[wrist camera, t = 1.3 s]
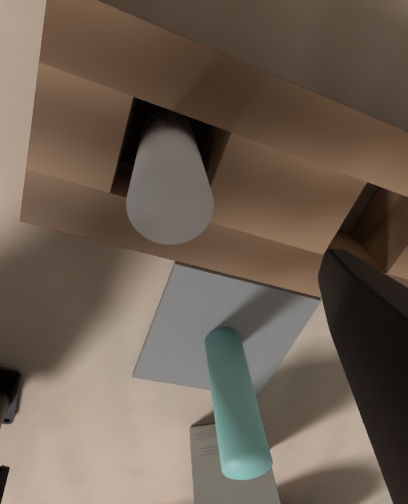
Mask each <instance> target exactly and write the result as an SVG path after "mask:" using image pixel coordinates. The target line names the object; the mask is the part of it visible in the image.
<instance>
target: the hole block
mask: <svg viewBox="0 0 408 504" xmlns="http://www.w3.org/2000/svg"><path fill="white" fill-rule="evenodd" d="M137 98H139V99H141V100H144V101H147V102H150V103H152V104H155V105H158V106H161V107H163V108H166V109H169V110H172V111H174V112H177V113H180V114H182V115H185V116H188V117H191V118H193V119H196V120H199V121H202V122H204V123H207V124H210V125H213V126H212V129H211V132H210V135H209V138H208V140H207V143H206V146H205V149H204V151H203V154H202V157H201V159H202V162H203V166H204V169H205V172H206V175H207V178H208V182H209V185H210V188H211V191H212V195H213V200H214V210H213V215H212V218H211V220H210V222H209V224H208V225H207V227H206V228H205V229H204V231H203V232H202V233H201V234H199V235H198V236H197V237H195V238H194V239H192V240H190V241H187V242H185V243H181V244H175V245H166V244H159V243H156V242H153V241H151V240H149V239H147V238H145V237H144V236H142V235H141V234H140V233H139V232H138V231H137V230H136V229H135V228H134V226H133V225H132V223H131V222H130V220H129V217H128V214H127V209H126V199H127V194H128V190H129V186H130V181H131V177H132V173H133V169H134V166H132V165H128V164H125V163H122V162H121V159H122V155H123V151H124V147H125V143H126V139H127V135H128V131H129V127H130V123H131V119H132V115H133V111H134V107H135V103H136V99H137ZM367 182H368V183H371V184H374V185H377V186H379V188H378V190H377V191H376V193H375V194H374V196H373V198H372V199H371V201H370V202H369V204H368V206H367V207H366V209H365V210H364V212H363V214H362V215H361V217H360V218H359V220H358V221H357V223H356V225H355V226H354V228H353V229H352V231H351V233H350V234H347V233H344V232H341V231H338V229H339V228H340V226H341V224H342V223H343V221H344V220H345V218H346V216H347V215H348V213H349V211H350V210H351V208H352V206H353V205H354V203H355V201H356V200H357V198H358V196H359V195H360V193H361V191H362V190H363V188H364V187H365V185H366V183H367ZM20 222H24V223H28V224H32V225H36V226H40V227H44V228H48V229H52V230H56V231H60V232H64V233H68V234H72V235H76V236H80V237H83V238H87V239H91V240H95V241H99V242H103V243H107V244H111V245H115V246H119V247H123V248H127V249H131V250H135V251H139V252H143V253H147V254H151V255H155V256H158V257H162V258H166V259H170V260H174V261H178V262H182V263H186V264H190V265H194V266H198V267H202V268H206V269H210V270H214V271H218V272H222V273H226V274H229V275H233V276H237V277H241V278H245V279H249V280H253V281H257V282H261V283H265V284H269V285H273V286H277V287H281V288H285V289H289V290H293V291H297V292H300V293H304V294H308V295H312V296H316V297H320V298H322V297H321V292H320V288H319V284H318V273H319V269H320V266H321V263H322V259H323V256H324V253H325V251H326V250H327V249H330V248H332V249H344V250H346V251H348V252H349V253H351V254H353V255H354V256H356V257H358V258H359V259H361V260H363V261H364V262H366V263H368V264H369V265H371V266H373V267H374V268H376V269H378V270H379V271H381V272H383V273H384V274H386V275H388V276H389V277H391V278H393V279H394V280H396V281H398V282H399V283H401V284H403V285H404V286H406V287H408V132H406V131H404V130H401V129H399V128H397V127H394V126H392V125H389V124H387V123H385V122H382V121H380V120H378V119H375V118H373V117H371V116H368V115H366V114H364V113H361V112H359V111H357V110H354V109H352V108H350V107H347V106H345V105H342V104H340V103H338V102H335V101H333V100H331V99H328V98H326V97H324V96H321V95H319V94H317V93H314V92H312V91H310V90H307V89H305V88H302V87H300V86H298V85H295V84H293V83H291V82H288V81H286V80H284V79H281V78H279V77H277V76H274V75H272V74H270V73H267V72H265V71H262V70H260V69H258V68H255V67H253V66H251V65H248V64H246V63H244V62H241V61H239V60H237V59H234V58H232V57H230V56H227V55H225V54H222V53H220V52H218V51H215V50H213V49H211V48H208V47H206V46H204V45H201V44H199V43H197V42H194V41H192V40H190V39H187V38H185V37H182V36H180V35H178V34H175V33H173V32H171V31H168V30H166V29H164V28H161V27H159V26H157V25H154V24H152V23H150V22H147V21H145V20H142V19H140V18H138V17H135V16H133V15H131V14H128V13H126V12H124V11H121V10H119V9H117V8H114V7H112V6H110V5H107V4H105V3H102V2H100V1H98V0H47V2H46V10H45V18H44V26H43V34H42V43H41V51H40V59H39V67H38V75H37V84H36V92H35V100H34V108H33V116H32V125H31V133H30V141H29V149H28V158H27V166H26V174H25V182H24V190H23V199H22V207H21V215H20Z"/></svg>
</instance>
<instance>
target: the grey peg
mask: <svg viewBox="0 0 408 504" xmlns="http://www.w3.org/2000/svg"><path fill="white" fill-rule="evenodd" d="M126 209H127V214H128V217H129V220H130V222H131V223H132V225H133V226H134V228H135V229H136V230H137V231H138V232H139V233H140V234H141V235H142V236H144V237H145V238H147V239H149V240H151V241H153V242H156V243H159V244H166V245H175V244H181V243H185V242H187V241H190V240H192V239H194V238H195V237H197V236H198V235H199V234H201V233H202V232H203V231H204V229H205V228H206V227H207V225H208V224H209V222H210V220H211V218H212V215H213V210H214V200H213V195H212V191H211V188H210V185H209V182H208V178H207V175H206V172H205V169H204V166H203V162H202V159H201V156H200V153H199V150H198V146H197V143H196V140H195V137H194V134H193V130H192V128H191V125H190V124H189V122H188V121H187V120H186V119H185V118H184V117H183V116H182V115H180V114H178V113H176V112H173V111H161V112H158V113H156V114H154V115H152V116H151V117H150V118H149V119H148V120H147V122H146V123H145V125H144V128H143V131H142V135H141V139H140V144H139V148H138V152H137V156H136V160H135V165H134V169H133V173H132V177H131V181H130V186H129V190H128V194H127V199H126Z"/></svg>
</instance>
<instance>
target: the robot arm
mask: <svg viewBox="0 0 408 504" xmlns="http://www.w3.org/2000/svg"><path fill="white" fill-rule="evenodd" d="M318 284H319V288H320V292H321V297H322V301H323V305H324V309H325V313H326V318H327V322H328V326H329V329H330V333H331V336H332V339H333V341H334V344H335V347H336V350H337V352H338V355H339V358H340V360H341V363H342V366H343V369H344V371H345V374H346V377H347V379H348V382H349V385H350V388H351V390H352V393H353V396H354V398H355V401H356V404H357V406H358V409H359V412H360V415H361V417H362V420H363V423H364V425H365V428H366V431H367V434H368V436H369V439H370V442H371V444H372V447H373V450H374V453H375V455H376V458H377V461H378V463H379V466H380V469H381V472H382V474H383V477H384V480H385V482H386V485H387V488H388V490H389V493H390V496H391V499H392V501H393V504H408V287H406V286H404V285H403V284H401V283H399V282H398V281H396V280H394V279H393V278H391V277H389V276H388V275H386V274H384V273H383V272H381V271H379V270H378V269H376V268H374V267H373V266H371V265H369V264H368V263H366V262H364V261H363V260H361V259H359V258H358V257H356V256H354V255H353V254H351V253H349V252H348V251H346V250H344V249H332V248H330V249H327V250H326V251H325V253H324V256H323V259H322V263H321V266H320V269H319V273H318ZM20 382H21V374H20V373H18V372H15V371H8V370H1V369H0V428H1V425H2V424H11V423H13V420H14V418H15V413H16V407H17V400H18V394H19V388H20ZM9 469H10V467H7V466H4V465H2V466H0V504H1V501H2V497H3V493H4V489H5V485H6V481H7V477H8V473H9Z"/></svg>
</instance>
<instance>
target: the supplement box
mask: <svg viewBox="0 0 408 504" xmlns="http://www.w3.org/2000/svg"><path fill="white" fill-rule="evenodd" d="M190 448H191V464H192V480H193V495H194V504H281V503H280V499H279V495H278V491H277V487H276V483H275V479H274V475H273V470H272V466H271V468H270V469H269V470H268V471H267V472H266V473H264V474H263V475H261V476H259V477H256V478H253V479H248V480H234V479H230V478H228V477H226V476H225V475H224V474H223V473H222V470H221V463H220V455H219V448H218V440H217V432H216V425H215V424H210V425H202V426H196V427H191V428H190Z"/></svg>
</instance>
